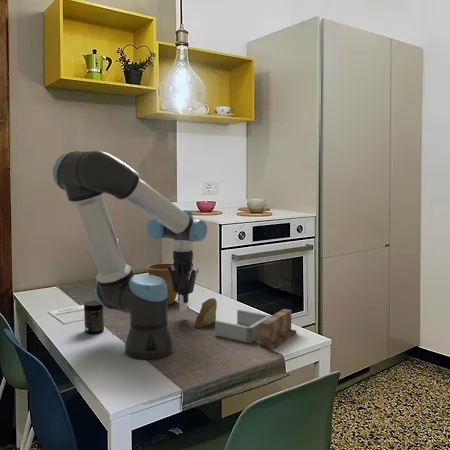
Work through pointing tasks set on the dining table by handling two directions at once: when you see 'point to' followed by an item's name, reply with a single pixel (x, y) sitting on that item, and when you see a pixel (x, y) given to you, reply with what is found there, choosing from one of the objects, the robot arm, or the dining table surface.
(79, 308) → the photo frame
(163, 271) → the plant pot
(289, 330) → the wall
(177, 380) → the dining table surface
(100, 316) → the supplement container
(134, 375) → the dining table surface
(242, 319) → the tray
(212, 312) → the rock
